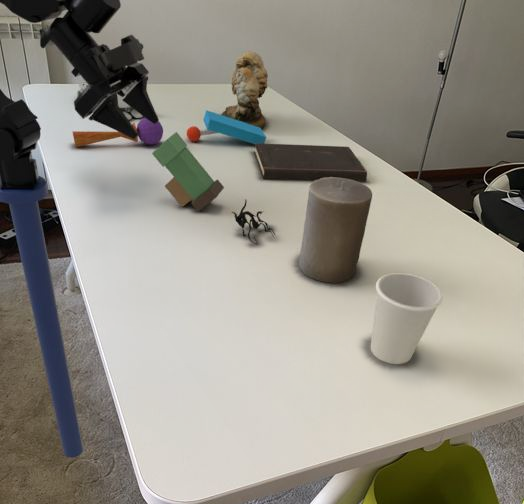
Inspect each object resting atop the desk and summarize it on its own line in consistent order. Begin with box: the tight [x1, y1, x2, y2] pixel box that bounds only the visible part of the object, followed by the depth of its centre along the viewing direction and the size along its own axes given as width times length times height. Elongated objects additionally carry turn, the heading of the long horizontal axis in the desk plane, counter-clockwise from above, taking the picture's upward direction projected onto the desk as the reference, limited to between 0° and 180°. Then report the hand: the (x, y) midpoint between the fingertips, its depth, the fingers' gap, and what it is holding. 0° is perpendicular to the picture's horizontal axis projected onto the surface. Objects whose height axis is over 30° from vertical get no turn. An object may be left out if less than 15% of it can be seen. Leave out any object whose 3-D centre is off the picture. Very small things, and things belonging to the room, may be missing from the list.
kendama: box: [72, 117, 164, 148], centre depth 125 cm, size 6×6×20 cm
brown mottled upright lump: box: [221, 50, 269, 130], centre depth 143 cm, size 18×12×17 cm, turn 9°
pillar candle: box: [298, 177, 373, 284], centre depth 87 cm, size 10×10×15 cm
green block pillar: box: [151, 131, 225, 212], centre depth 102 cm, size 12×5×12 cm, turn 76°
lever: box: [186, 109, 267, 145], centre depth 134 cm, size 7×7×18 cm
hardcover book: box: [253, 142, 368, 182], centre depth 125 cm, size 16×23×2 cm
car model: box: [76, 81, 144, 121], centre depth 147 cm, size 11×24×5 cm, turn 42°
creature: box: [231, 198, 276, 245], centre depth 97 cm, size 8×5×8 cm
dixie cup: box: [370, 272, 444, 365], centre depth 72 cm, size 8×8×10 cm
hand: (147, 129), depth 99 cm, fingers open, 9 cm apart
